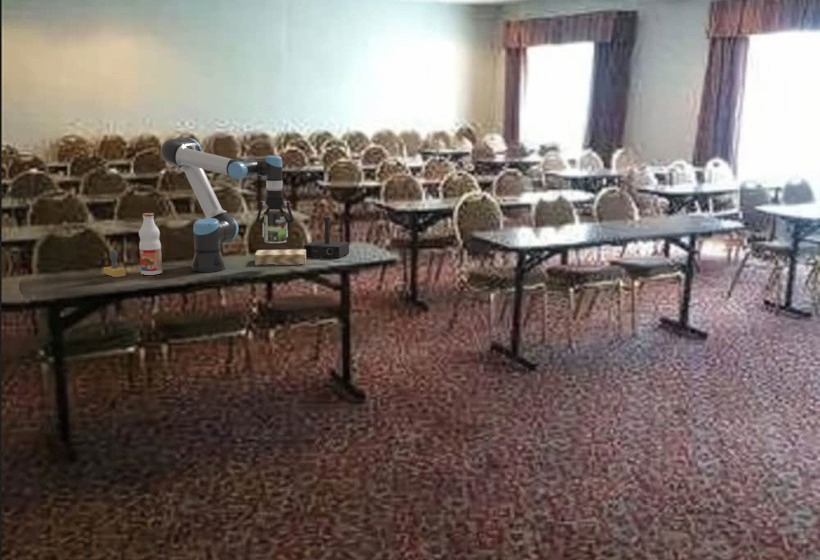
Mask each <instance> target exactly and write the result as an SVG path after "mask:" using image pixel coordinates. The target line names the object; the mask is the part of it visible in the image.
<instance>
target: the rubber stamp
mask: <svg viewBox="0 0 820 560" xmlns="http://www.w3.org/2000/svg"><path fill="white" fill-rule="evenodd" d="M118 255H119V253H118V252H117V251H116V250H115V249H112V250H110V252H109V258H110V260H111V263H112V266H105V267H103V274H104V273H106V274H109V275H112V276H118V275H126V276H127V270H126V268H124V267H120V266H117V260H118Z"/></svg>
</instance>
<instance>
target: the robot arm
mask: <svg viewBox="0 0 820 560" xmlns="http://www.w3.org/2000/svg"><path fill="white" fill-rule="evenodd" d="M202 150H203V149H202V147H201V145H200V143H199V142H198V141H197V140H196V139H194V138H191V137H181V138H170V139H167V140H165V141H163V144H161V147H160V156H161V158H162V159H163V161H164V162H166V163H168V164H170V165H175V166H176V165H177V166H178V169H179V171H180V172H181V171H182V172H184V173H185V176H186V178H187V181H188V183H189V184H190V186H191V189H192V190H193V193H194V195H195V197H196V200H197V202H198V203H199V205H200V207H201V210H202V211H203V214H204V216H205V218H201V219H198V220H196V221H194V224H193V228H192V231H193V243H194V244H193V245H194V246H193V247H194V248H193V249H194V256H193V260H192V263H191V271H192V270H194V271H193V272H195V271H199V272H198V273H213V272H214V271H215V272H220V270H221V271H224V270H225V266H226V265H225V262H224V260H223V259H224V258H223V256H222V254H221V244H225V243H229V242H231V241H234V240H235V239H236V238H237V236H238V234H239V223H238V222H237V220H236V219H235V218H233V217H232V216H230V215H229V213H228V211H227V210H224V209H223V208H222V206H221V204H220V202H219V199H218V198H217V195H216V193H215V191H214V188H213V187H212V184H211V182H210V180H209V178H208V177H207V173H206V172H205V170H206V171H210V172H215V173H218V174H223V175H226V176H229V177H230V178H232V179H234V180H236V179H237V180H241V179H244V178H250V177H265V179H266V180H265V184H266V185H265V189H266V193H265V194H266V197H265V198H266V199H265V200H260V201H259V208H258V212H257V215H256V218H255V219H256V220H255V222H256V223H259V230H260V231H262V238H265V235H264V214H263V215H262V212H263V208H264V206H265V205H266V206H267V209H266V213H268V212H269V211H281V213H284V211H285V210H284V208H283V207H282V206H283V205H285V207H286V208H287V209H286V210H287V212H288V215H287V214H286V215H285V220H286V238H288V237H289V234H288V233H289V231H290V230H291V223H294V221H295V218H294V216H293V213H292V209H291V207H290V204H291V203H290V201H289V200H284V197H283V196H284V194H283V191H284V190H283V184H284V183H283V158H282V157H281V156H280V155H267V156H265V159H253V158H249V159H247V158H246V159H243V160H238V159H233V158H229V157H225V156H221V155H217V154H213V153H208V152H206V151H202ZM261 215H262V217H261ZM288 216H289V217H288ZM223 269H224V270H223Z"/></svg>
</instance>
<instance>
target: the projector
mask: <svg viewBox="0 0 820 560" xmlns="http://www.w3.org/2000/svg"><path fill="white" fill-rule="evenodd" d="M322 219H323V220H322V221H324V240H313V241H311V242H309V243H305V244H304V245H303V248H304V249H306V257H307V256H311V257H312V258H320V257H326V258H325V259H341V258H343V257H344V255H345V256H348V255H349V254H350V242H347V241H331V240H330V221H331V216H323V218H322ZM342 256H343V257H342ZM340 257H341V258H340Z"/></svg>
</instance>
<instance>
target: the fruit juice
mask: <svg viewBox="0 0 820 560" xmlns="http://www.w3.org/2000/svg"><path fill="white" fill-rule="evenodd" d="M154 217H155V214H154V212H145V213H142V218H143V221H142V225H141V227H140V229H139V231H138V237H139V239H140V241H139V244H138V245H139V246H138V247H139V261H140V264H139V265H140V273H141V275H142V274H144V275H155V274H160V273H162V274H163V261H162V257H163V256H162V244H161V241H160V236H161V232H160V229H159V228H158V226H157V225H156V223H155V221H154V219H155V218H154Z"/></svg>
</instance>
